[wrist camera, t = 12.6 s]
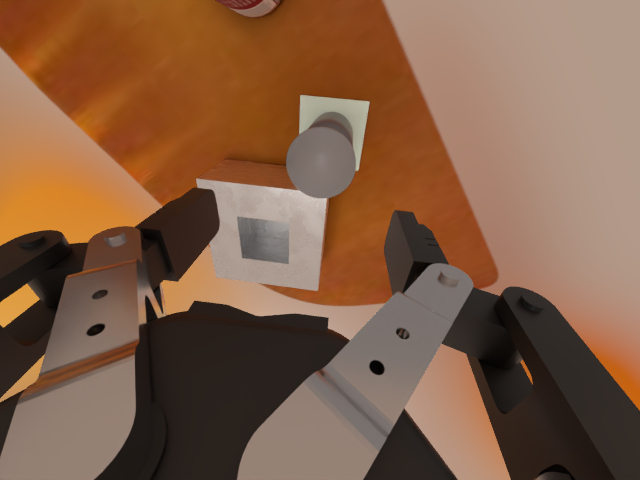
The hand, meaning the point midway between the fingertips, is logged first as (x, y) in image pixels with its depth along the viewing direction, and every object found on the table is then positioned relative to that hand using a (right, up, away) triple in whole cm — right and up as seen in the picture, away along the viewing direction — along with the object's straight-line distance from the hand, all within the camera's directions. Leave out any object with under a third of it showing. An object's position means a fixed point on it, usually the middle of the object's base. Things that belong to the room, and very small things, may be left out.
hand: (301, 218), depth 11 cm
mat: (+2, +11, +16) cm, 19 cm away
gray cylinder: (+2, +10, +16) cm, 19 cm away
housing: (-5, +3, +22) cm, 23 cm away
